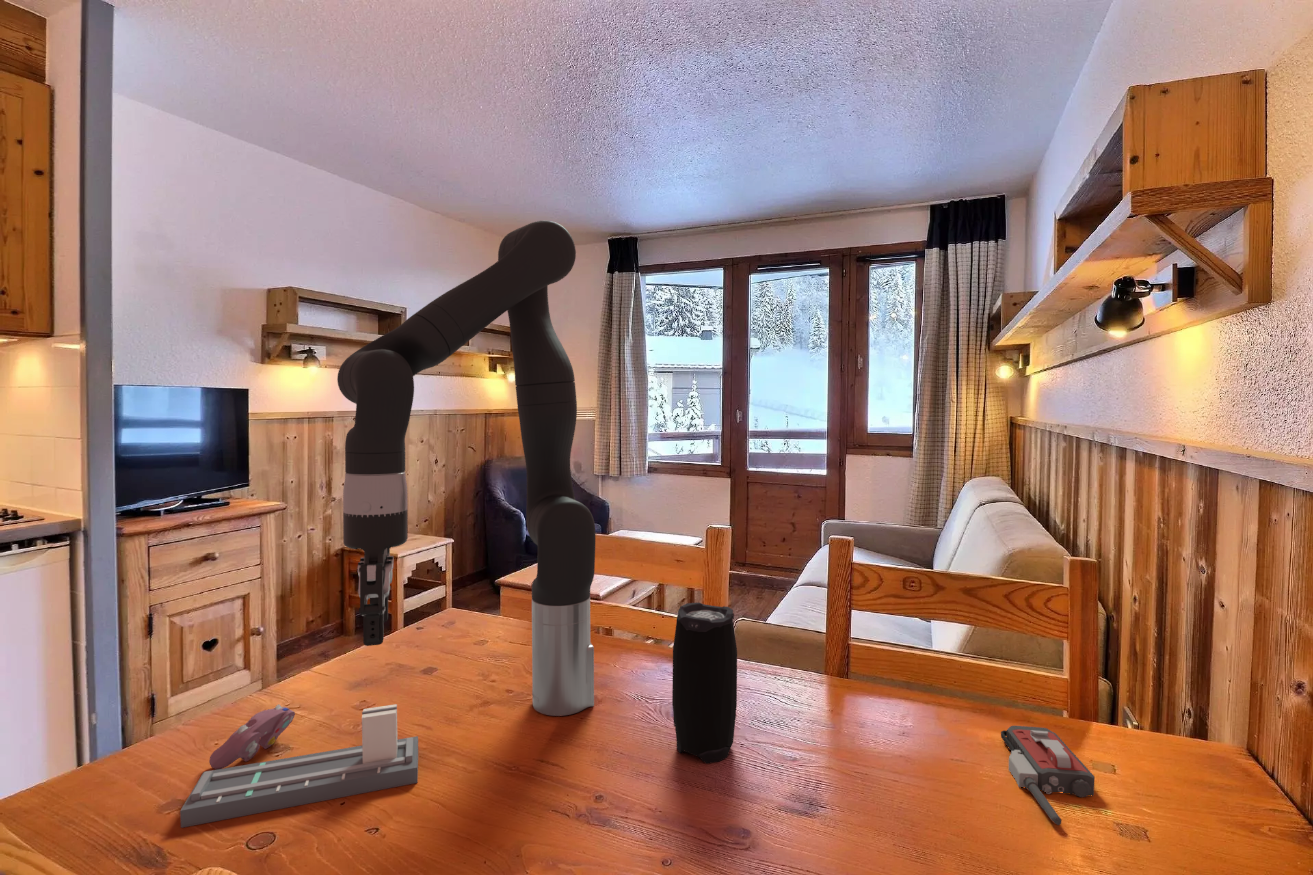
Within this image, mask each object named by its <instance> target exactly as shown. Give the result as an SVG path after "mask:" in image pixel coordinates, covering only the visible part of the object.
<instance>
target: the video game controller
mask: <svg viewBox="0 0 1313 875" xmlns="http://www.w3.org/2000/svg"><path fill="white" fill-rule="evenodd" d="M295 715H296V713H295V711H294V710H292V709H290V708H289V707H286V706H281V704H277V705H276V706H274V708H270V709H269V708H268V709H264V710H262V711H259V712H257V713H255V714H254V715H253V716H251V717H250V718H249V720H248V721H247V722H246V723H244V724H243V725H241V726H239V727H238V729H237V730H236V731H234V732H233V733H232V734H231V735H230V736H229V738H227V740H225V741H224V742H223V744H222V745H221V746H219V747H218V748H216V749H215V750H214V751H213V752H212V753H211V755H210V756H209V765H210V767H211V768H213V770H218V769H224V768H228V766H230V765H231V764H233V763H234V762H236V761H237V760H238V759H242V761H244V762H248V761H250V760H251V759H253V758H254V756H256V755H257V753H258V752H259V750H260V747H262V748H263V749H265V750H266V749H268V748H270V747H271V746H273V745H274V744H275V742H276V741H277V739H278V738H279V737H280V735H281V734H282V733H283V732H284V731H285V730H286V729H287V728H288V727H289V726H290V724H292V722H293V720H294V718H295Z"/></svg>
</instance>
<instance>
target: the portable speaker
mask: <svg viewBox="0 0 1313 875" xmlns="http://www.w3.org/2000/svg"><path fill="white" fill-rule="evenodd" d="M734 619H735V614H734V610H733V609H732V608H731V607H729V606H725V605H724V606H718V605H709V604H705V603H702V602H689V603H685V604H683V605H681V606H679V608H678V610H677V615H676V624H675V631H674V638H673V639H674V640H673V647H672V687H671V688H672V690H671V691H672V696H671V698H672V701H671V703H672V711H673V712H672V713H673V714H672V715H673V716H672V717H673V727H674V728H675V729H674V730H675V736H676V738H675V739H676V750H677V751H678V753H679V754H681V753H685V752H686V753H688V754H690V755H693V756H695V757H698V758H699V759H700V760H701V761H702V762H704V763H705V764H712V763H718V762H721V761H723V760H724V759H726V758H728V757H729V754H730V751H731V748H732V747H733V744H734V738H735V728H736V719H737V705H738V697H737V696H738V648H737V642H736V640H737V639H736V634H735V627H734V621H733V620H734Z"/></svg>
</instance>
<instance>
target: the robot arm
mask: <svg viewBox="0 0 1313 875" xmlns="http://www.w3.org/2000/svg"><path fill="white" fill-rule="evenodd" d="M497 253H498V254H497V261H496V262H495V263H493V264H492V265H491V266H489V267H487V268H486V269H484V270H483V271H481V272H480V273H478V274H476V275H475V276H473V277H471V278H469V279H467V280H465V281H464V282H462V283H459V284H458V285H456V286H454V287H453V288H451V289H450V290H448V291H446V292H444V293H443V294H441V295H440V296H438V297H437V298H435V299H433V300H431V302H429V303H428V304H426V305H425V306H423V307H422V308H420V309H419V310H418V311H416V312H415V313H413V314H412V315H411V316H409V317H408V318H407V319H406V320H405V321H404V322H403V323H401V324H400V325H398V326H397V327H396V328H394V329H392V330H391V331H388V332H387V333H385V334H383V335H381V336H379V337H378V338H376V339H374V340H372V341H371V342H369V343H367V344H366V345H363V346H362V347H360V348H359V349H357V350H356V351H354V352H353V353H352V354H351V355H349V356H348V357H347V358H346V359H345V360H343V362H342V364H341V365H340V367H339V369H338V373H337V380H336V382H337V386H338V388H339V389H338V390H339V391H340V392H341V394H342V395H343V396H344V398H345V399H347V400H348V401H350V402H351V403H353V404H355V405H356V406H355V419H354V424H353V427H352V428H350V429H349V430H348V432H347V433H346V436H345V443H344V455H345V456H344V460H345V462H344V463H345V464H344V466H345V467H344V468H345V469H344V470H345V471H344V472H345V474H344V482H343V489H342V490H343V491H342V507H343V508H342V511H343V512H342V517H343V518H342V521H343V522H342V525H343V527H342V529H343V530H342V531H343V540H342V541H343V545H344V547H346V548H348V549H352V550H362V551H363V552H364V554H363V557H360V558H359V562H357V573H358V574H357V575H358V590H357V593H358V596H359V599H360V600H359V609H358V612H359V615H360V616H362V617H363V620H362V621H363V622H362V624H363V626H362V628H363V629H362V630H363V633H362V634H363V640H362V641H363V645H364V646H365V647H371V646H379V645H382V644H383V642H384V637H385V636H384V635H385V634H384V631H385V630H384V629H385V628H384V623H386V622H388V621H389V620H388V619H389V596H390V590H391V586H390V584H392V582H393V569H394V564H395V563H394V559H395V558H394V555H391V551H390V550H391V548H395V547H400V546H402V545H404V544H405V543H407V541H408V535H409V534H408V532H409V531H408V527H409V525H408V523H409V522H408V514H409V513H408V511H409V510H408V506H409V504H408V502H409V500H408V494H409V493H408V485H407V484H408V483H407V478H406V440H405V438H406V434H407V432H408V428H409V423H410V419H411V412H412V407H413V403H414V396H415V380H414V377H415V376H416V375H417V374H419V373H420V372H422V371H424V370H428V369H432V368H433V367H436V366H438V365H440V364H441V363H443V362H444V361H445V360H447V359H448V358H449V357H451V356H452V355H453V354H454V353H455V352H457V351H459V350H460V349H462V347H463V346H464V345H466V344H467V343H468V342H469V341H472V340H471V339H473V338H475V336H477V335H478V334H479V333H481V332H482V331H483V330H484V329H485V328H487V327H488V326H489V325H491V323H493V322H495V320H497V319H498V318H499V317H500V316H502V315H503V314H504V313H506V312H507V316H508V321H509V322H508V323H509V329H510V331H509V332H510V340H511V342H510V343H511V351H512V357H513V358H512V359H513V360H512V361H513V368H514V384H515V385H514V386H515V393H516V394H515V395H516V404H517V411H518V412H517V413H518V419H519V427H520V436H521V444H522V448H523V449H522V450H523V454H524V455H523V456H524V460H525V462H524V463H525V468H526V470H525V471H526V509H525V510H526V514H525V515H526V516H525V517H526V518H525V520H526V529H527V533H528V535H529V537H530V539H531V541H532V542H533V544H535V545H536V546H537V563H536V564H537V568H536V569H537V572H536V573H537V574H536V576H535V578H534V579H533V581H532V583H531V655H532V656H531V657H532V658H531V661H532V662H531V663H532V666H531V667H532V668H531V669H532V676H531V677H532V682H531V683H532V688H531V689H532V691H531V692H532V693H531V695H532V707H533V709H534V711H536V712H538V713H540V714H543V715H547V716H553V717H555V716H556V717H557V716H558V717H560V716H561V717H562V716H568V715H569V716H570V715H573V714H576V713H579V712H581V711H584V710H585V709H587V708H589V707H594V706H595V648H594V645H593V644H592V642H591V588H592V583H593V581H594V577H595V570H596V568H595V567H596V566H595V564H596V538H597V537H596V523H595V519H594V517H593V513H592V512H591V510H590V509H589V508H588V506H586V505H584V504H583V503H582V502H580V501H578V500H577V499H576V497H575V492H574V486H573V479H572V472H571V455H572V454H571V453H572V447H573V442H574V438H575V432H576V425H577V416H578V415H577V414H578V404H577V403H578V401H577V388H576V382H575V374H574V369H573V365H572V363H571V360H570V358H569V356H568V354H567V352H566V350H565V348H564V346H563V344H562V343H561V341H560V339H559V337H558V335H557V333H556V331H555V329H554V327H553V323H552V319H551V315H550V314H551V313H550V306H549V295H548V293H549V291H548V290H549V288H548V286H549V285H552V284H554V283H555V284H556V283H558V282H560V281H561V280H564V278H565V277H567V276H568V275H569V274H570V272H571V271H572V270H573V267H574V265H575V262H576V259H577V258H576V257H577V254H576V253H577V251H576V244H575V241H574V239H573V237H572V235H571V233H570V232H569V231H568V230H567V229H566V228H565V227H564V226H563V225H562V224H559V223H558V222H556V221H552V220H537V221H533V222H531V223H528V224H525V225H523V226H521V227H517V229H515V230H512V231H510V232H509V233H507V234H506V235H505V236H504V237H503V238H502V240H501V242H500V244H499V247H498V252H497ZM368 600H369V603H368Z"/></svg>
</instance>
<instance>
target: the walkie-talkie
mask: <svg viewBox="0 0 1313 875" xmlns="http://www.w3.org/2000/svg"><path fill="white" fill-rule="evenodd" d="M1000 738H1001V740H1003V743H1004V744H1005V745H1007V746H1008V747H1009V748H1008V750H1009V749H1010V750H1011V752H1010V754H1009V757H1008V771H1009V772H1011V773H1010V774H1011V775H1013V776H1012V777H1013V779H1014V778H1015V779H1014V780H1015V781H1016V785H1017V784H1018V785H1017V786H1018V788H1020V787H1026V788H1025V789H1027V791H1029V792H1030V793H1031V795H1032V796H1033V797H1034V799H1035V800H1036V801H1037V803H1038V804H1039V806H1040V808H1041V809H1042V810H1043V811H1044V812H1045V814H1046V815H1047V816H1048V818H1049V819H1050V820H1051V821H1052V822H1053V823H1054V824H1056V825H1057V826H1060V825H1062V819H1061V817H1060V816H1059V814H1058V813H1057V812H1056V810H1055V809H1054V807H1053V806H1052V805H1051V803H1050V802H1049V800H1048V799H1047V798H1046V796H1045V795H1044V794H1043V791H1044V793H1045V792H1046V794H1047V795H1050V794H1052V793H1053V792H1063V793H1062V794H1064V793H1070V794H1069V795H1075V796H1076V797H1078V798H1086V797H1093V796H1094V795H1095V779H1096V777H1095V775H1094V774H1093V773H1092V772H1091V770H1089V769H1088V767H1086V766H1085V764H1084V763H1083V762H1082V761H1081V760H1080V758H1079V757H1077V756H1076V754H1075V753H1074V752H1073V751H1072V750H1071V749H1070V748H1069V746H1068V745H1067V744H1066V743H1065V742H1064V741H1063V740H1062V739H1061V737H1059V735H1057V733H1056V732H1054V731H1052V730H1050V729H1048V728H1046V727H1042V726H1041V727H1040V726H1037V727H1036V726H1026V725H1010V726H1009V727H1008V728H1007V729H1006V730H1002V731H1001V732H1000ZM1007 746H1006V747H1007ZM1010 750H1009V751H1010ZM1040 790H1042V791H1040ZM1088 795H1090V796H1088ZM1091 795H1092V796H1091Z"/></svg>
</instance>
